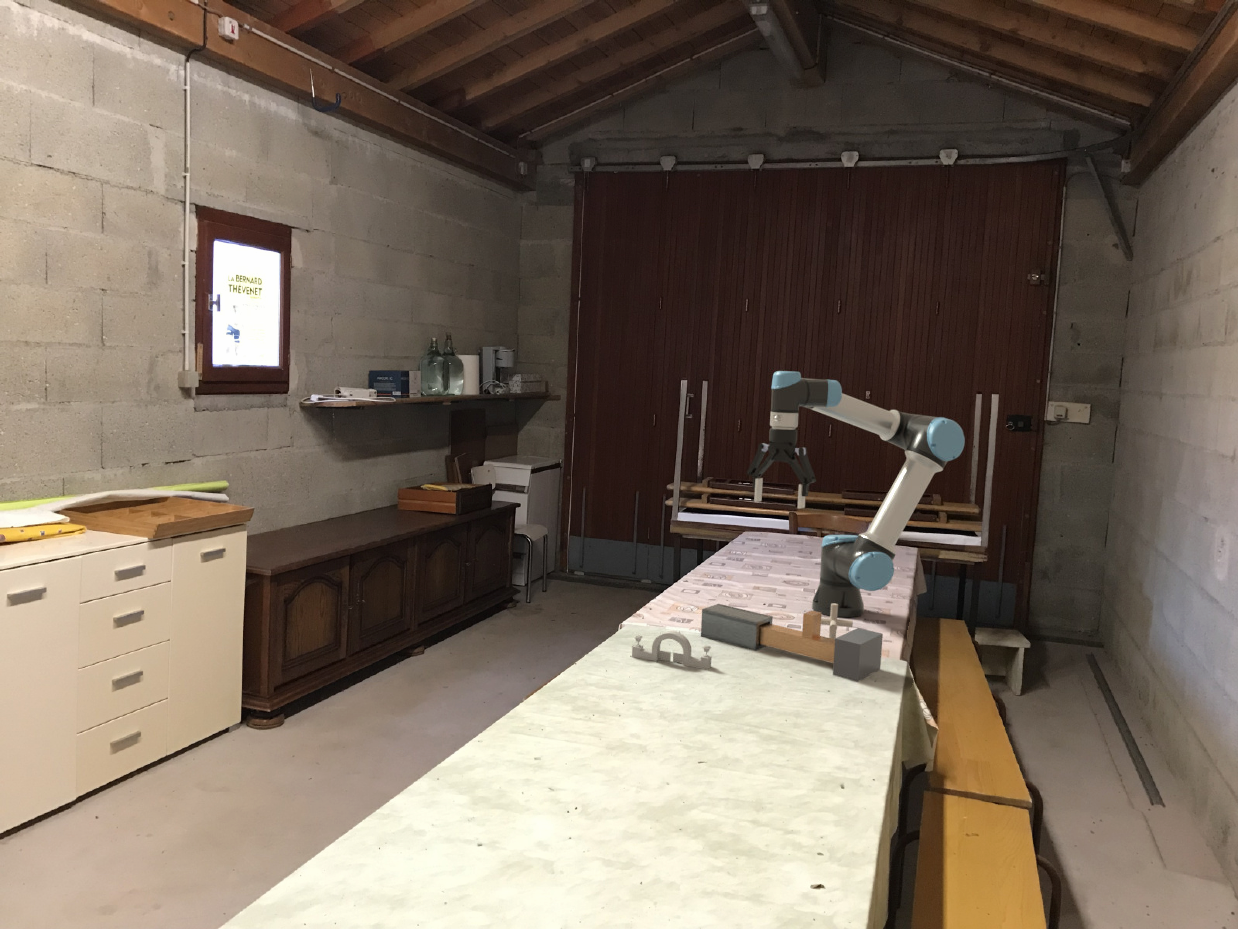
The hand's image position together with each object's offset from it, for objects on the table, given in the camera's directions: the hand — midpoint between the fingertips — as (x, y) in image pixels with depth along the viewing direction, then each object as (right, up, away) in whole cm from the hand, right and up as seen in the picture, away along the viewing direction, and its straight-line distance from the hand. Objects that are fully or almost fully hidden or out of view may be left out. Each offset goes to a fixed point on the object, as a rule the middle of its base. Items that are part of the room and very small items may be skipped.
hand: (779, 504), depth 263 cm
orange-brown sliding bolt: (+2, -36, -22) cm, 42 cm away
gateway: (-31, -38, -28) cm, 57 cm away
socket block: (+14, -39, -31) cm, 52 cm away
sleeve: (-13, -36, -9) cm, 39 cm away
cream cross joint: (+13, -36, -6) cm, 39 cm away
